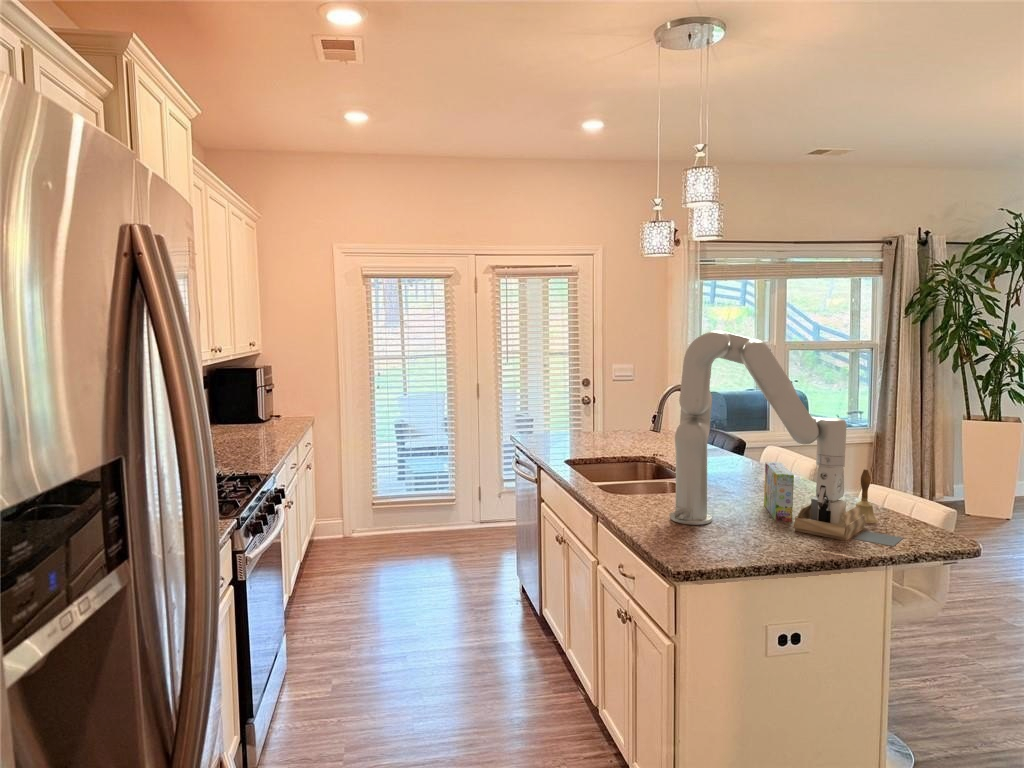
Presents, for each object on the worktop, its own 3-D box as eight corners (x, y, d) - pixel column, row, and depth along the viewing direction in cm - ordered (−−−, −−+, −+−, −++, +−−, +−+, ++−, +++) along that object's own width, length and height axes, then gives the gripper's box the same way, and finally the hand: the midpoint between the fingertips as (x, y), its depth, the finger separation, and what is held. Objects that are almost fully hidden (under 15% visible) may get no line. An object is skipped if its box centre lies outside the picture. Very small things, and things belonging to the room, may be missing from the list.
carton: (843, 543, 182) (844, 517, 182) (792, 533, 192) (792, 509, 191) (866, 528, 196) (866, 504, 196) (817, 519, 206) (817, 496, 205)
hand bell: (849, 515, 210) (851, 466, 209) (879, 519, 206) (881, 468, 204) (847, 522, 203) (849, 471, 202) (878, 526, 198) (880, 473, 197)
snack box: (794, 523, 203) (794, 474, 202) (774, 522, 204) (775, 474, 203) (780, 505, 224) (781, 461, 222) (762, 505, 225) (763, 461, 224)
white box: (839, 528, 190) (840, 503, 189) (810, 522, 195) (811, 498, 195) (845, 524, 193) (846, 500, 193) (816, 518, 199) (817, 495, 198)
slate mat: (893, 548, 178) (893, 546, 178) (853, 540, 185) (853, 538, 185) (903, 539, 185) (903, 537, 185) (864, 532, 192) (864, 530, 192)
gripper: (833, 466, 184) (830, 530, 185) (853, 458, 196) (850, 518, 198) (806, 462, 189) (803, 524, 191) (827, 454, 201) (824, 513, 203)
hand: (827, 520), depth 194 cm, fingers closed on white box, 5 cm apart
